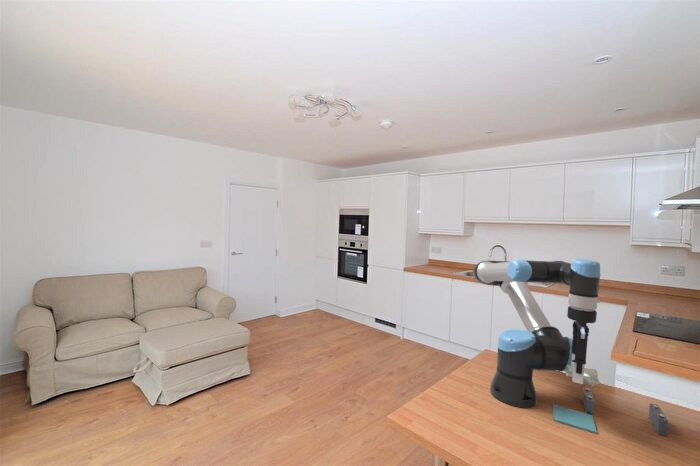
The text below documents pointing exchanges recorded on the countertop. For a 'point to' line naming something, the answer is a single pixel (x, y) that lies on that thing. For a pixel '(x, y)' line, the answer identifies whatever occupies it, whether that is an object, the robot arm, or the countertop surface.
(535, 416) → the countertop surface
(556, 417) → the mat
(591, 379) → the pipe fitting
